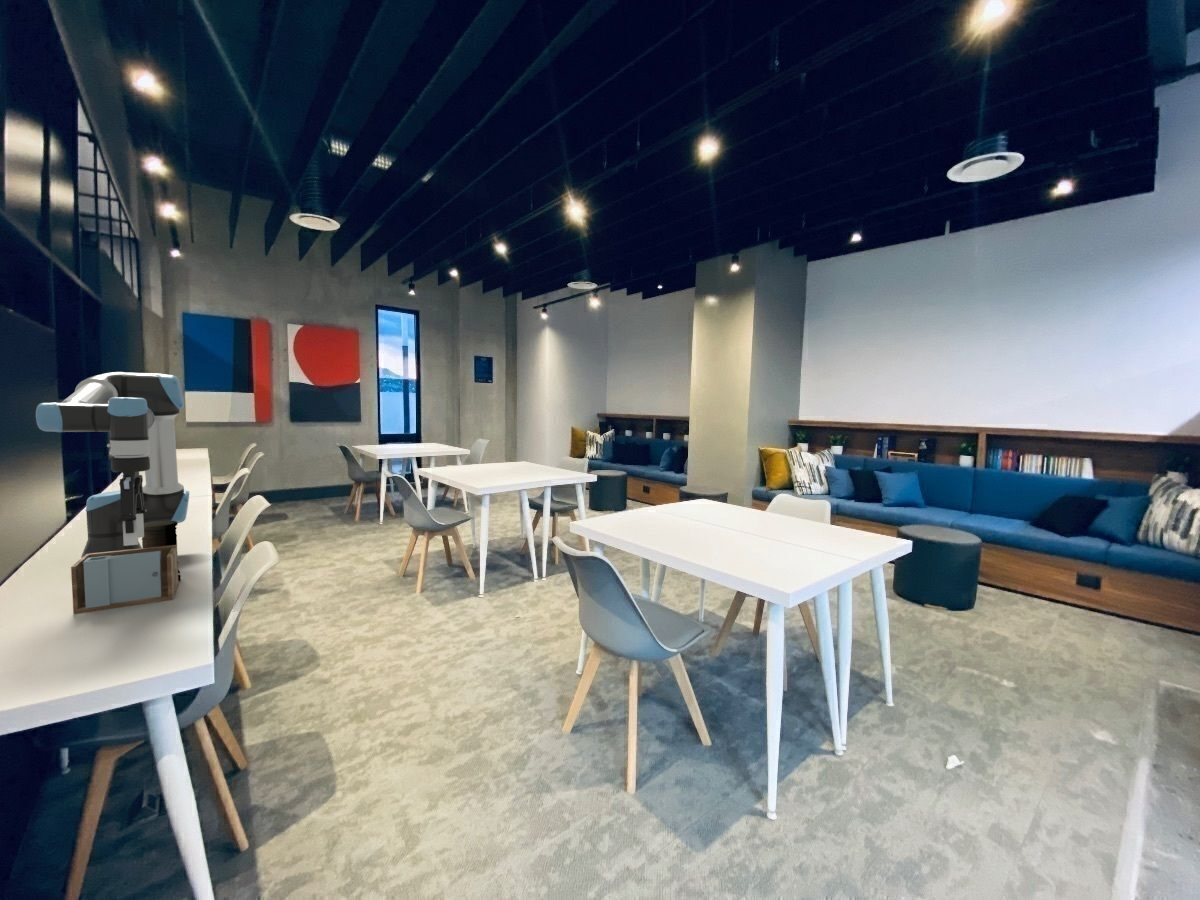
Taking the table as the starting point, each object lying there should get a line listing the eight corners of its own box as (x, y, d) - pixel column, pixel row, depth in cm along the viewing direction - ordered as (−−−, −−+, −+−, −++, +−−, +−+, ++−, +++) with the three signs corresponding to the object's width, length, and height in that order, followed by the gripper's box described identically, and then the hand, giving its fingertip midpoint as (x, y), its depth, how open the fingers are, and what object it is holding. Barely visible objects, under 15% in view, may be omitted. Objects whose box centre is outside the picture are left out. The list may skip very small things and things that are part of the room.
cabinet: (88, 596, 137) (86, 553, 136) (178, 584, 148) (177, 544, 147) (73, 613, 126) (71, 567, 125) (172, 599, 136) (170, 556, 136)
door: (90, 602, 130) (87, 557, 129) (163, 592, 138) (161, 550, 138) (85, 608, 126) (83, 562, 126) (160, 597, 135) (158, 554, 134)
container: (135, 583, 148) (132, 524, 147) (172, 575, 156) (170, 518, 155) (149, 589, 144) (146, 527, 143) (186, 580, 152) (184, 522, 150)
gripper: (119, 453, 137) (123, 534, 139) (100, 460, 121) (105, 552, 122) (155, 452, 142) (158, 531, 144) (142, 459, 125) (146, 548, 127)
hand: (134, 540), depth 133 cm, fingers open, 8 cm apart
